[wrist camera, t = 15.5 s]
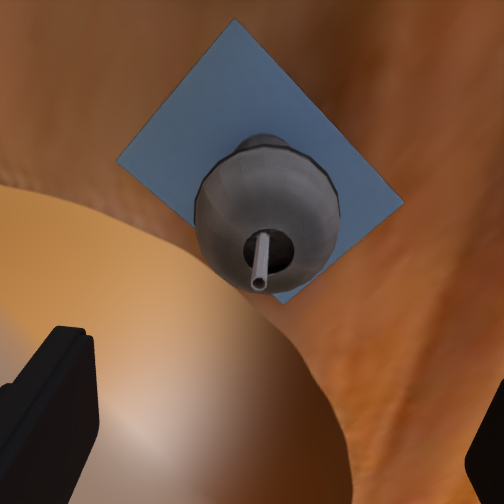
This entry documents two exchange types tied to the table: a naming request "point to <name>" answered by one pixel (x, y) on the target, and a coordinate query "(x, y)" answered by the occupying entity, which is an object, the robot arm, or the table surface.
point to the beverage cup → (267, 216)
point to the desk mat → (243, 126)
